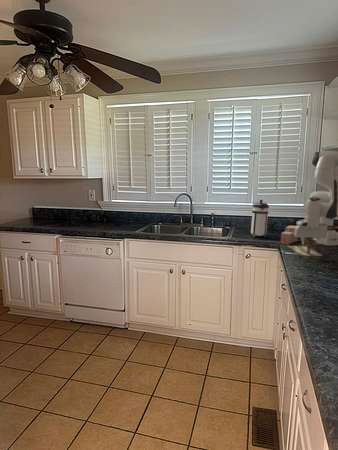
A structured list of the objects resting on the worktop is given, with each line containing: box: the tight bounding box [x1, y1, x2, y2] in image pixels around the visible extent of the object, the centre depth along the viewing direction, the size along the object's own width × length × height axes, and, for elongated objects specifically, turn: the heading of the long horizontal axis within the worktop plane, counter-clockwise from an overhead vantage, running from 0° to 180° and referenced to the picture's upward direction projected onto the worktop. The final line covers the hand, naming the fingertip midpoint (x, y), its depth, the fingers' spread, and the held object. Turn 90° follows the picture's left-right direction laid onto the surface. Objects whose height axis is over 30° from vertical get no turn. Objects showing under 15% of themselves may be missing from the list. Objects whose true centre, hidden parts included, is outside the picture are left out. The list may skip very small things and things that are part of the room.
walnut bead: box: [301, 238, 317, 248], centre depth 200 cm, size 6×6×4 cm
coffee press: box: [249, 199, 270, 239], centre depth 252 cm, size 17×16×30 cm
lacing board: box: [287, 245, 324, 259], centre depth 206 cm, size 14×24×8 cm, turn 1°
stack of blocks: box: [280, 224, 298, 246], centre depth 231 cm, size 21×6×12 cm, turn 142°
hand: (309, 244), depth 200 cm, fingers closed on walnut bead, 6 cm apart
